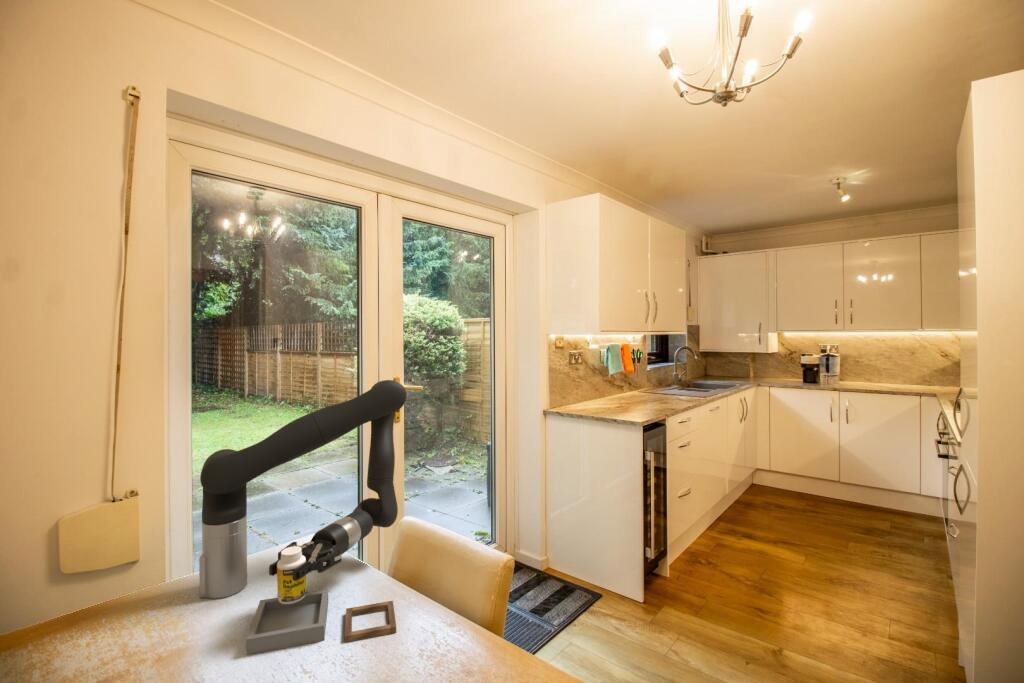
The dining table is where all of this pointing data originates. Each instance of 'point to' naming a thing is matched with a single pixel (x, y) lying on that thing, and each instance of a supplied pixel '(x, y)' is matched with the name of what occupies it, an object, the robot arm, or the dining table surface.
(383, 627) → the holder frame
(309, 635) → the tray
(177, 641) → the dining table surface
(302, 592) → the supplement bottle
